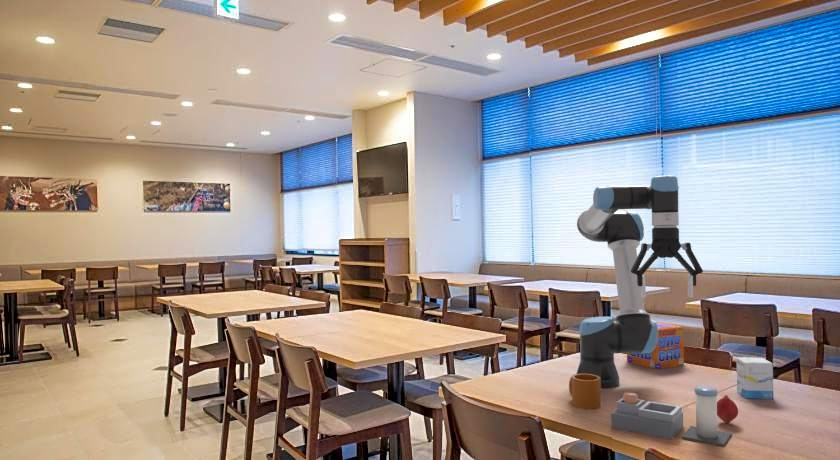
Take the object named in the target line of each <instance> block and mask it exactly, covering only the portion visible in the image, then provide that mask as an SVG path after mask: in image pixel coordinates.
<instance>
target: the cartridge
mask: <svg viewBox="0 0 840 460" xmlns="http://www.w3.org/2000/svg"><path fill="white" fill-rule="evenodd" d="M694 394H695V421H696V423H695V425H696V426H695V427H696V434H697V435H698V436H701V437H705V438H716V437H717V431H718V416H717V402H718V398H717V396H718V389H717V388H713V387H709V386H695V387H694Z"/></svg>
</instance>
